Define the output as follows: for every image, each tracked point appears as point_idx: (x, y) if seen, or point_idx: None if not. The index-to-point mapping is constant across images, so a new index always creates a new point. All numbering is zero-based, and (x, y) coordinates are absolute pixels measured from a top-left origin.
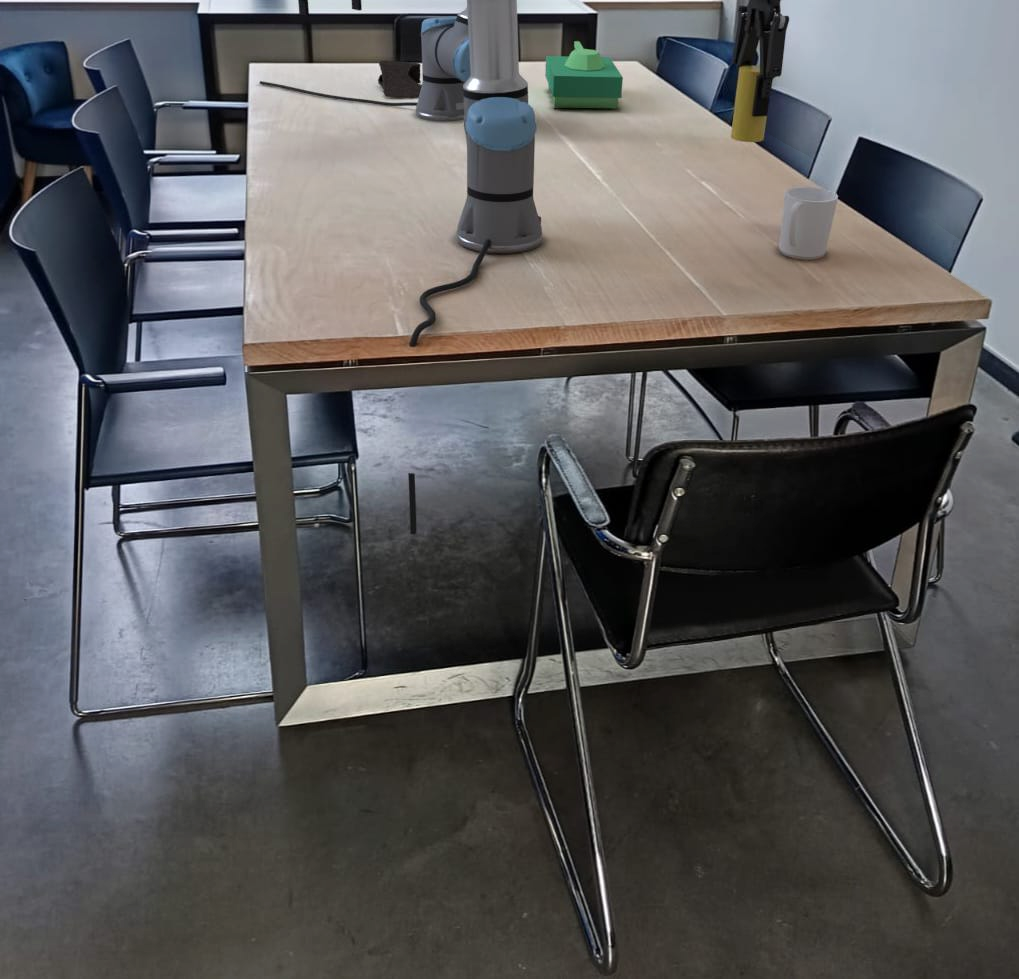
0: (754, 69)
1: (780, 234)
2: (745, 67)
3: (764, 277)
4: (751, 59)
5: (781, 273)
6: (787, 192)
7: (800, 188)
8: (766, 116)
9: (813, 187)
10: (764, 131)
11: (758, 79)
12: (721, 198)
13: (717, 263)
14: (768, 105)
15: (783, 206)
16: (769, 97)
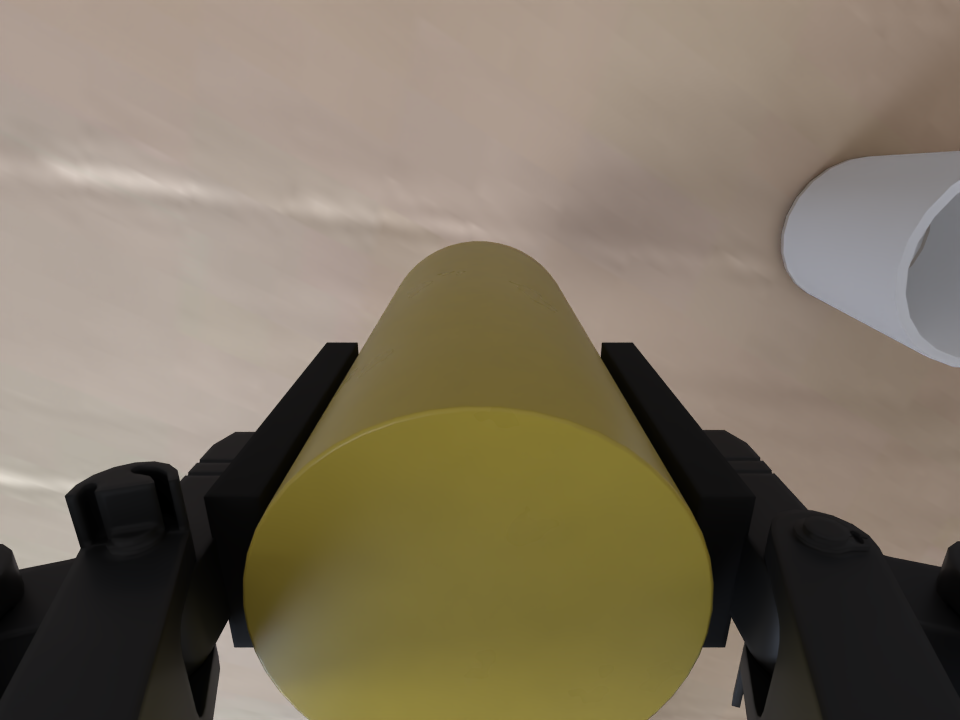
0: (515, 659)
1: (831, 305)
2: (360, 694)
3: (936, 423)
4: (170, 643)
5: (939, 370)
6: (935, 348)
7: (908, 256)
8: (561, 299)
9: (941, 198)
10: (548, 276)
11: (713, 638)
12: (264, 198)
13: (798, 482)
14: (655, 371)
15: (894, 339)
16: (727, 432)
